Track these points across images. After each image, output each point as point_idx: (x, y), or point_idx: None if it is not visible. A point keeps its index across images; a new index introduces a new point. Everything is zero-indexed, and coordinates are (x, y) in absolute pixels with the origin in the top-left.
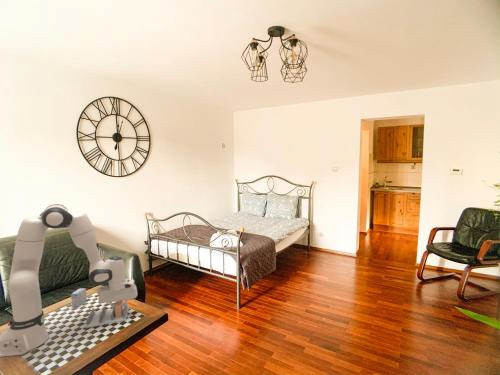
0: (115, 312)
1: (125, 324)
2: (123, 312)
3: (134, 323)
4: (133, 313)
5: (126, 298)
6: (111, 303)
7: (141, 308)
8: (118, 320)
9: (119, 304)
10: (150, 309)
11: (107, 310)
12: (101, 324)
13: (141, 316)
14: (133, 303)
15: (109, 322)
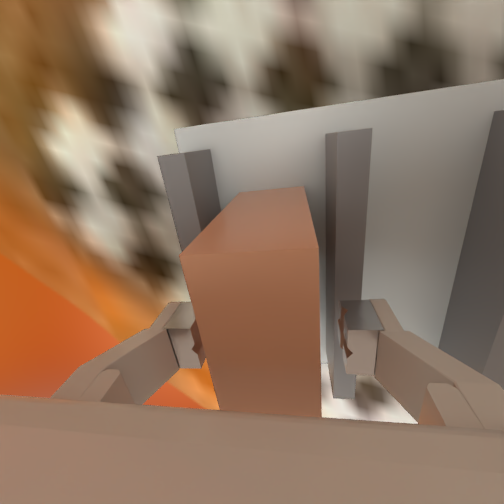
0: (304, 203)
1: (153, 31)
2: (181, 183)
3: (53, 34)
4: (156, 253)
5: (4, 420)
6: (423, 390)
7: (120, 310)
8: (255, 117)
9: (220, 300)
10: (38, 275)
11: None
12: (480, 83)
13: (54, 178)
14: (214, 392)
15: (369, 101)
